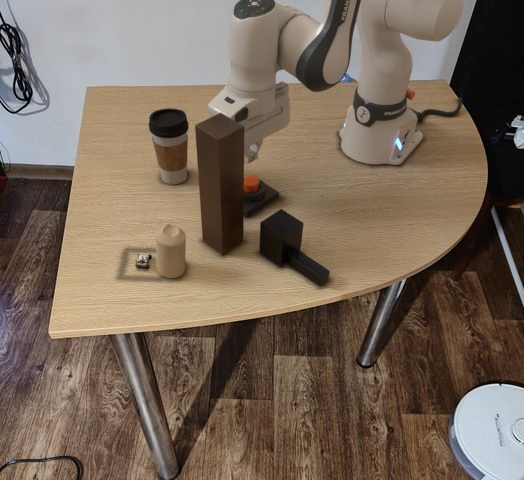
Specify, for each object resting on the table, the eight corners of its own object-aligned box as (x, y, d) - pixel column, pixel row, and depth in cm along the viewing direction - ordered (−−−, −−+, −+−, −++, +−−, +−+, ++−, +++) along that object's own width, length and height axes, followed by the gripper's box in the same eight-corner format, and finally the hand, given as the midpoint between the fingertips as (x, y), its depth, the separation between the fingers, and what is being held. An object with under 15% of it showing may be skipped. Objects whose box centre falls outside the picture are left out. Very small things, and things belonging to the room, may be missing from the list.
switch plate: (253, 182, 128) (253, 169, 125) (278, 198, 124) (279, 185, 122) (221, 200, 123) (221, 187, 120) (247, 217, 120) (247, 204, 117)
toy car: (151, 256, 111) (150, 249, 110) (148, 271, 109) (147, 263, 107) (138, 256, 111) (137, 248, 110) (135, 270, 109) (134, 262, 107)
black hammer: (278, 239, 116) (281, 208, 110) (333, 275, 110) (339, 245, 104) (259, 252, 113) (260, 222, 107) (314, 291, 107) (318, 261, 101)
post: (223, 228, 118) (220, 112, 97) (243, 242, 115) (244, 126, 94) (202, 241, 115) (194, 125, 94) (222, 255, 112) (218, 139, 92)
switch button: (250, 180, 123) (250, 173, 121) (262, 187, 121) (262, 181, 120) (239, 187, 121) (239, 180, 120) (250, 194, 120) (250, 188, 118)
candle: (161, 281, 107) (160, 242, 99) (153, 261, 110) (151, 222, 102) (189, 275, 109) (190, 236, 101) (179, 256, 112) (180, 217, 104)
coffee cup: (186, 190, 125) (181, 129, 113) (150, 184, 126) (141, 123, 114) (196, 168, 130) (192, 108, 118) (162, 163, 131) (154, 102, 119)
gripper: (277, 72, 111) (273, 135, 122) (200, 107, 101) (203, 172, 112) (300, 84, 108) (294, 148, 119) (224, 121, 99) (225, 186, 110)
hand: (249, 160), depth 116 cm, fingers closed
